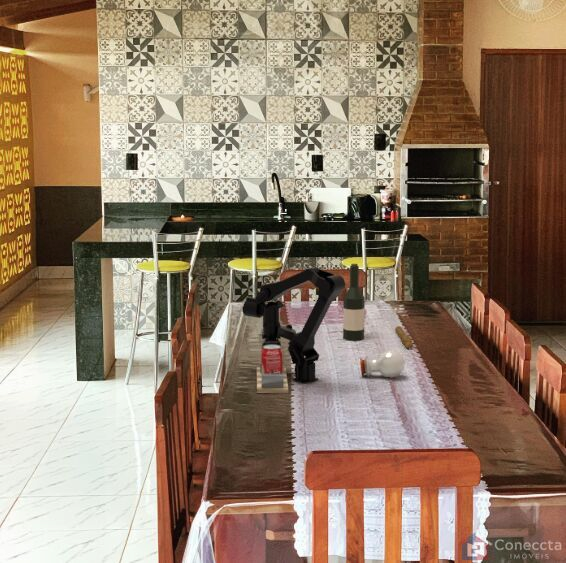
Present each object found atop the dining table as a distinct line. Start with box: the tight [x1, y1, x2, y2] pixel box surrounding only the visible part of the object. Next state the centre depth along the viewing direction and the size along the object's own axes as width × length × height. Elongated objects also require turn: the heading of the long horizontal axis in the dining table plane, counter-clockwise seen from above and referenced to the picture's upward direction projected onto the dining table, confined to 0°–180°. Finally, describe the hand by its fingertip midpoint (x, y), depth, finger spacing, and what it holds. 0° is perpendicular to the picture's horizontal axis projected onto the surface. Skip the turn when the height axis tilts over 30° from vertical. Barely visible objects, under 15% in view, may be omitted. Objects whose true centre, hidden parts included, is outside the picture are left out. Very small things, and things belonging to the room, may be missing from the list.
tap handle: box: [395, 325, 413, 349], centre depth 391 cm, size 3×3×30 cm
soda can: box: [260, 345, 284, 376], centre depth 325 cm, size 7×7×12 cm
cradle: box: [256, 364, 289, 394], centre depth 332 cm, size 28×10×6 cm, turn 2°
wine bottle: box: [342, 263, 366, 342], centre depth 392 cm, size 8×8×30 cm
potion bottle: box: [359, 349, 406, 379], centre depth 337 cm, size 9×10×15 cm
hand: (271, 363), depth 341 cm, fingers closed
